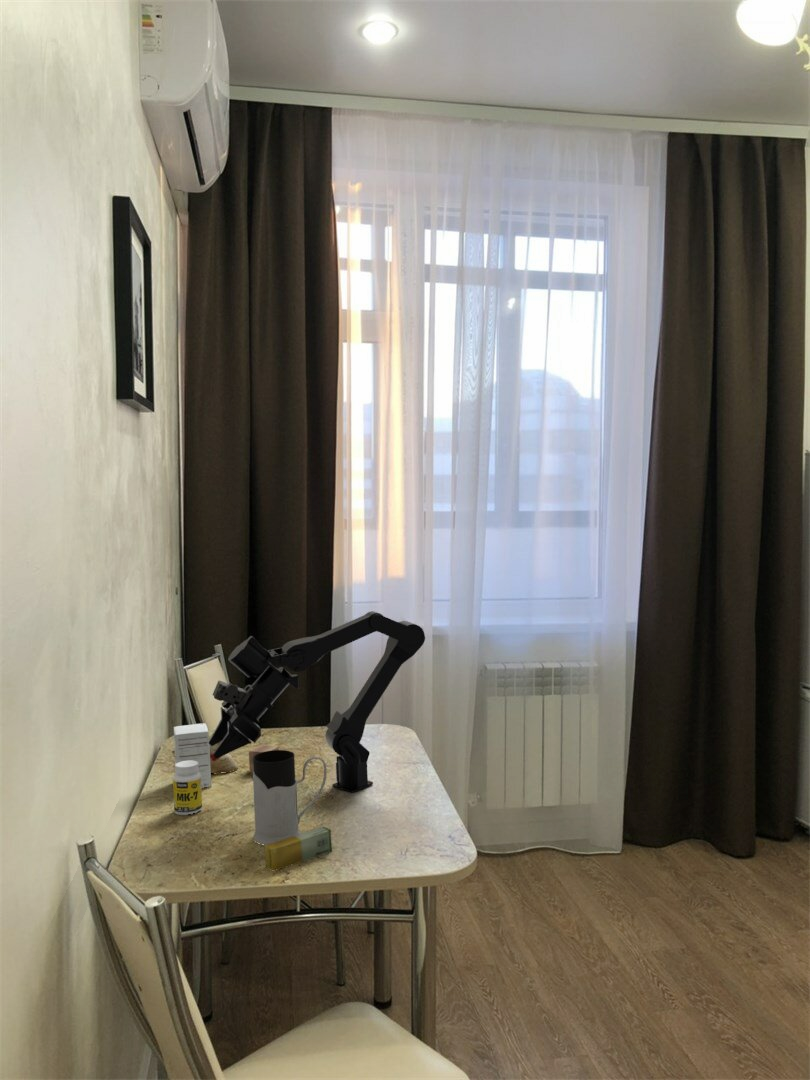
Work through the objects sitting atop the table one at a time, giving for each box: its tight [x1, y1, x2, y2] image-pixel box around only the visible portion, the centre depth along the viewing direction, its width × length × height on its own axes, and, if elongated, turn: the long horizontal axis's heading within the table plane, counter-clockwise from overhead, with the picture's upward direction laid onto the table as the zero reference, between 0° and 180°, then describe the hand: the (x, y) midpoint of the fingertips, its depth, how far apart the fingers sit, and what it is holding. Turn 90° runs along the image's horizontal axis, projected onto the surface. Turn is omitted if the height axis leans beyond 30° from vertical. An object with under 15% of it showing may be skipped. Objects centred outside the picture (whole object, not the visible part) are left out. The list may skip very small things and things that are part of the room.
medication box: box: [263, 826, 333, 871], centre depth 141 cm, size 12×3×4 cm, turn 127°
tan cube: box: [248, 744, 280, 773], centre depth 190 cm, size 5×5×5 cm
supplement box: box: [173, 722, 212, 789], centre depth 181 cm, size 7×7×13 cm
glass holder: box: [252, 749, 328, 846], centre depth 151 cm, size 9×14×15 cm, turn 111°
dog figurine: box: [209, 733, 239, 773], centre depth 190 cm, size 6×8×10 cm
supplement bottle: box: [172, 760, 203, 816], centre depth 165 cm, size 6×6×10 cm
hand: (212, 750), depth 166 cm, fingers open, 9 cm apart
